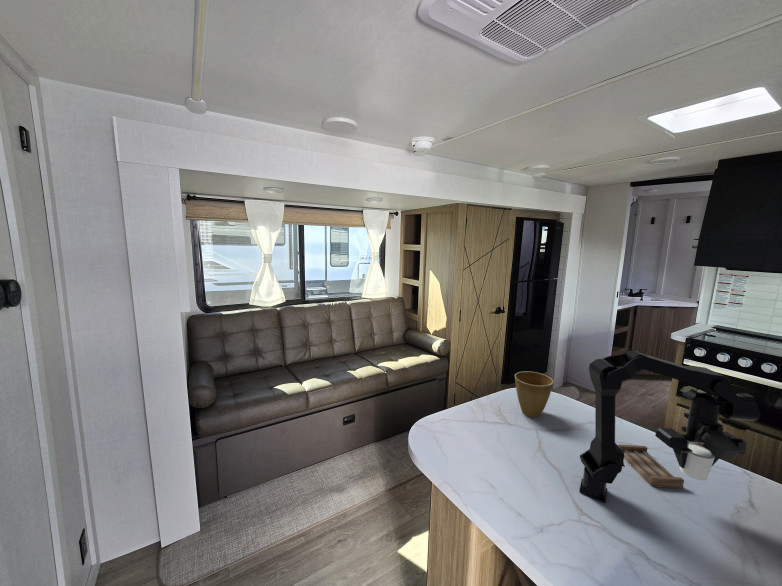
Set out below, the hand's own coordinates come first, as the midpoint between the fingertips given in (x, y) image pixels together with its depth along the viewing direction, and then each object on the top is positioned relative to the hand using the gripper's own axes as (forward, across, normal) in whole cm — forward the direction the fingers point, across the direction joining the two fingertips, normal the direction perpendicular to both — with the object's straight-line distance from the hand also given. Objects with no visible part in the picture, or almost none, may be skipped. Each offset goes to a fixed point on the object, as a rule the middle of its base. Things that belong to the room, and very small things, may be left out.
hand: (694, 467), depth 86 cm
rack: (+11, -1, +14) cm, 18 cm away
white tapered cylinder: (+2, 0, 0) cm, 2 cm away
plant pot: (+11, -27, +46) cm, 54 cm away
